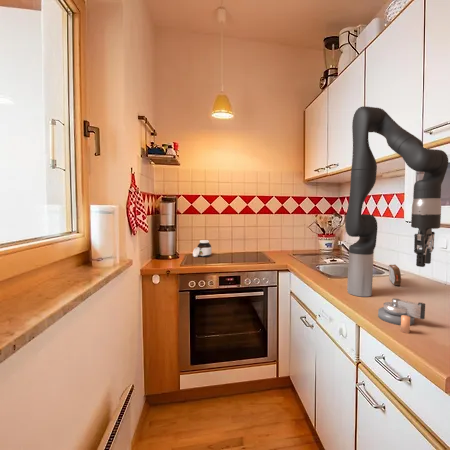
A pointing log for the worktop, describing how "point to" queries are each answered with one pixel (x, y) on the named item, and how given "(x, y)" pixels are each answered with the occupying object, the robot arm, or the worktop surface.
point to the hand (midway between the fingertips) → (423, 264)
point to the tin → (394, 275)
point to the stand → (397, 320)
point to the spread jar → (203, 249)
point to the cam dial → (405, 308)
